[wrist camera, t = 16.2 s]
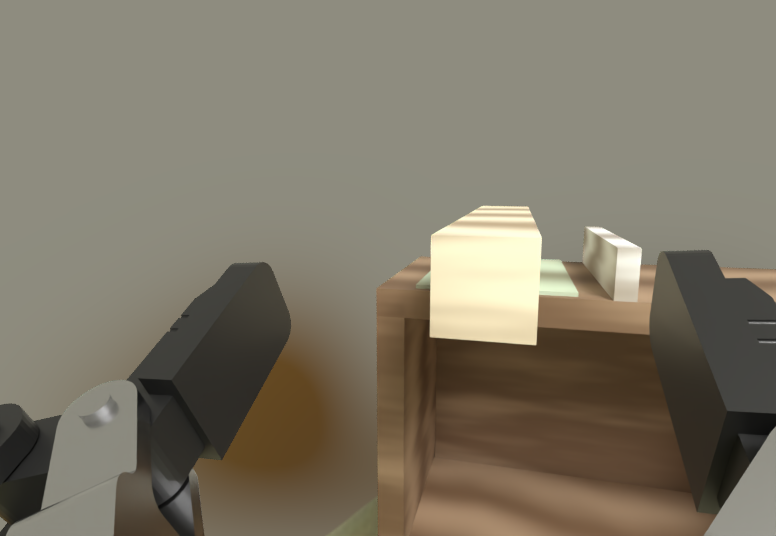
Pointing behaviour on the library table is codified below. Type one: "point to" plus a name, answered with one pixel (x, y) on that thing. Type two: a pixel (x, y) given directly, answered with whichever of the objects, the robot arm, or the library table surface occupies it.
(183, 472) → the robot arm
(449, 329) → the maple stick
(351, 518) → the library table surface
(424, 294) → the dovetailed wooden cabinet
